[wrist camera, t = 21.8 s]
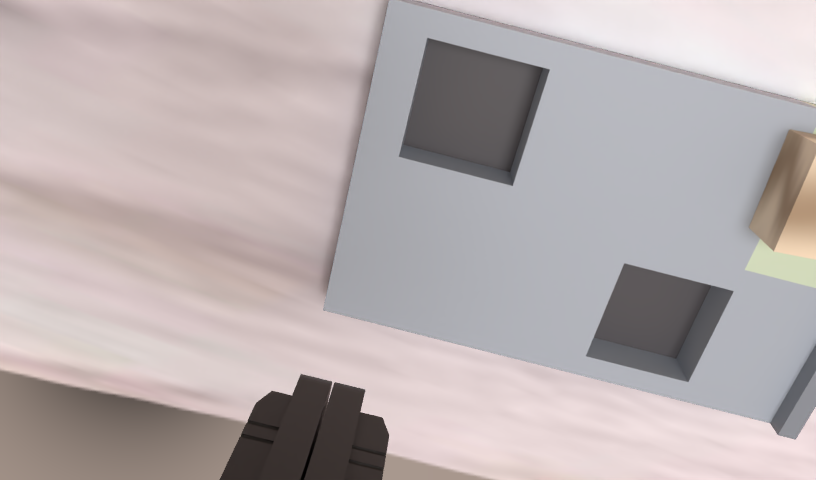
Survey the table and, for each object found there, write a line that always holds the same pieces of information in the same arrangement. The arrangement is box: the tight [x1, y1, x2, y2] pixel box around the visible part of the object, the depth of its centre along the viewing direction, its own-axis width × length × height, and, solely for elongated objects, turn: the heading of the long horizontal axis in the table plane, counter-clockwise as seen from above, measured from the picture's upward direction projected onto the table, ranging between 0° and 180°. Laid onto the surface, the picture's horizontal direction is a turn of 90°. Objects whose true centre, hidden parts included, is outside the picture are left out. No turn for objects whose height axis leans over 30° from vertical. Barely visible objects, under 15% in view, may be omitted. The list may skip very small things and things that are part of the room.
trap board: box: [323, 0, 816, 439], centre depth 41 cm, size 20×32×4 cm, turn 76°
